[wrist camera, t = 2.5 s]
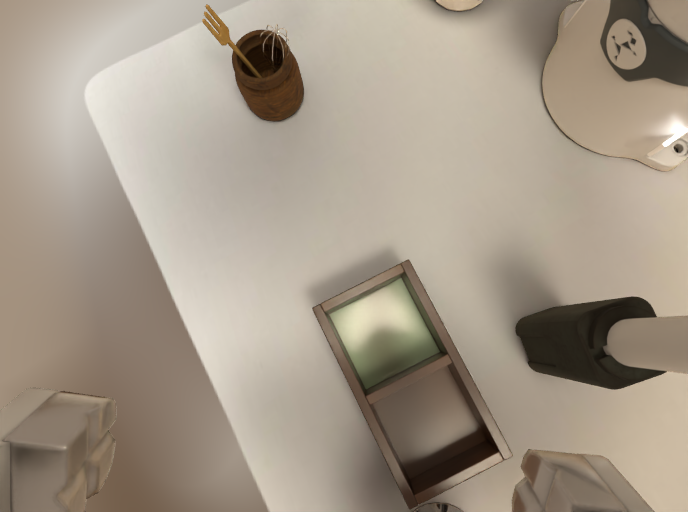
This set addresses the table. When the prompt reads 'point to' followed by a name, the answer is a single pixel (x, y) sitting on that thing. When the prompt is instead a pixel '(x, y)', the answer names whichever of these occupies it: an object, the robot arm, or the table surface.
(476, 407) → the wooden divided box
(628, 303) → the candle
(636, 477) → the table surface
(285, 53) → the utensil holder
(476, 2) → the cup
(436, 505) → the wine glass
